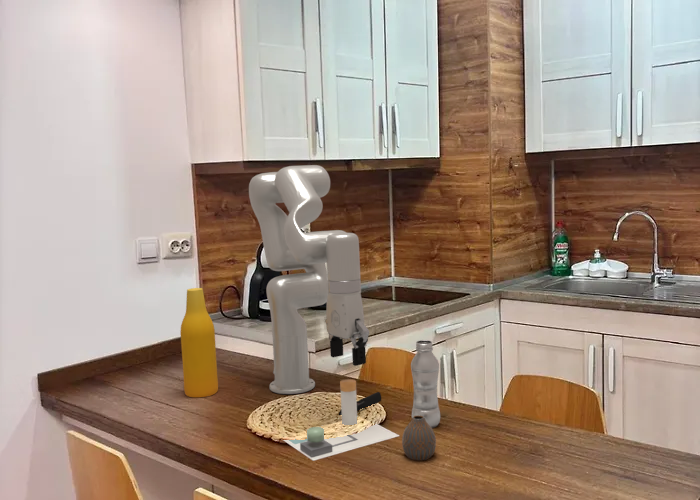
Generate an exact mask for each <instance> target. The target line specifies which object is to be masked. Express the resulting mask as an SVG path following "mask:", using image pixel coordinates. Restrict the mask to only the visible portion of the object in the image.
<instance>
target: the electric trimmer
mask: <svg viewBox="0 0 700 500" xmlns="http://www.w3.org/2000/svg"><path fill="white" fill-rule="evenodd" d="M381 401H382V394H381V392H380V391H377V392H374V393H372V394H370V395H367V396H366V397H363V398H361V399H359V400H357V411H358V410H360V409H362V408H365V407H368V406H371V405H372V404H375V403H376V404H378V403H379V402H381ZM376 404H375V405H376ZM365 409H366V408H365ZM338 412H339V413H338V416H339V415H342V411H341V409H339V411H338Z"/></svg>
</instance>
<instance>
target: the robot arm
mask: <svg viewBox="0 0 700 500" xmlns="http://www.w3.org/2000/svg"><path fill="white" fill-rule="evenodd" d="M330 189H331V178H330V175H329V173H328V171H327V170H326V169H325V168H324V167H323V166H321V165H319V164H318V165H317V164H312V165H311V164H307V165H289V166H284V167H282V168H281V169H279V170H278V171H272V172H262V173H259V174H256V175H255V176H253V177H251V179H250V182H249V184H248V195H249V196H248V197H249V201H250V205H251V209H252V211H253V212H254V215H255V217H256V219H257V221H258V224H259V227H260V232H261V239H262V245H263V249H264V254H265V255H264V256H265V260H266V263H267V266H268V267H269V269H270V270H271V271H275V272H285V271H297V270H304V271H305V272H301V273H292V274H283V275H279V276H275V277H273V278H271V279H270V280H269V281H268V283H267V285H266V290H265V291H266V297H267V301H268V306H269V311H270V318H271V319H270V320H271V334H272V350H273V353H272V354H273V372H272V373H273V374H274V380H272V382H270V384H269V390H270V391H271V392H273V393H275V394H279V395H295V394H296V395H297V394H302V393H306V392H309V391H311V390H312V389H314V388H315V387H316V382H315V380H314V379H312V378H310V370H309V369H310V368H309V366H310V365H309V346H308V331H307V330H308V328H307V327H308V326H307V323H306V321H305V319H304V318H303V316H302V315H301V314H300V313H299V312H298V310H299V309H303V308H311V307H318V306H323V305H324V304H326V306H325V307H326V310H325V311H326V318H325V321H324V322H325V325H326V332H327V334H328V340H329V345H330V346H329V349H330V357H331V358H338V357H341V356H344V342H343V341H344V340H348V339H350V342H351V343H352V346H353V347H352V348H351V354H352V365H353V366H355V367H356V366H360V365H361V366H362V365H365V364H367V356H366V347H367V346H368V345H367V343H368V342H369V336H370V329H368V327H367V326H366V323H365V315H364V314H365V313H364V307H363V306H364V305H363V299H362V294H361V293H362V284H361V283H362V281H361V262H360V258H361V257H360V242H359V241H360V239H359V236H358V235H357V234H356V233H353V232H346V231H345V230H341V229H340V230H339V229H336V230H335V229H334V230H321V231H320V230H319V231H309V232H304V231H302V228H304V227H306V226H307V225H309V224H310V223H313V222H314V221H316V220H317V219H318V218H319V216H320V215H321V213H322V212H323V201H322V199H321V198H323V197H325V196H326V195H327V194H328V193H329V191H330ZM282 203H284V205H285V207H286V209H287V211H288V215H287V214H286V212H284V210H282V208H280V206H278V204H282ZM357 339H358V340H357Z"/></svg>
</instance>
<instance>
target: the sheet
mask: <svg viewBox="0 0 700 500" xmlns="http://www.w3.org/2000/svg"><path fill="white" fill-rule="evenodd" d="M397 437H400V434H398V433H395V432H394V431H391V430H389V429H388V428H385V427H383V426H382V425H380V424H377V423H376V424H375V425H373V426H371V427H369V428H368V429H366V430H364V431H362V432H360V433H357V434H353V435H347V436H344V437H336V438H329V439H324V440H325V441H327V442H328V443H330V444H331V445H332V452H330V453H326V454H323V455H319V456H316V457H310V456H309V455H307V454H306V453H304V452H303V451H301V450H300V443H303V442H307V441H308V440H307V439H305V440H296V439H295V440H282V441H283V442H285V443H287V444H288V445H289V446H291V447H292V448H294V449H295V450H297V451H298V452H300V453H301V454H303V455H304V456H306V458H308V459H310V460H311V461H312V462H313V461H317V460H320V459H325V458H327V457H331V456H336V455H338V454H342V453H345V452H348V451H352V450H355V449H359V448H363V447H366V446H370V445H373V444H377V443H380V442H383V441H387V440H390V439H394V438H397Z"/></svg>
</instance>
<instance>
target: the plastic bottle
mask: <svg viewBox="0 0 700 500" xmlns="http://www.w3.org/2000/svg"><path fill="white" fill-rule="evenodd" d="M415 345H416V346H415V350H416V354H415V355H414V356H413V358H412V360H411V362H410V369H411V376H412V381H413V382H412V383H413V384H412V385H413V405H412V409H411V418H412V417H413V416H416V415H420V416H423V417H424V418H425V420H426V422H427V423H428V424H429V425H430V427H431V428H432V429H434V428H436V427H438V425H439V424H440V421H441V412H440V406H439V400H438V399H439V397H438V378H439V371H440V370H439V369H440V362H439V360H438V358H437V357H436V355H435V354H434V353H433V351H434V346H433V341H432V340H427V339H425V340H423V339H422V340H421V339H420V340H416V342H415Z"/></svg>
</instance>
